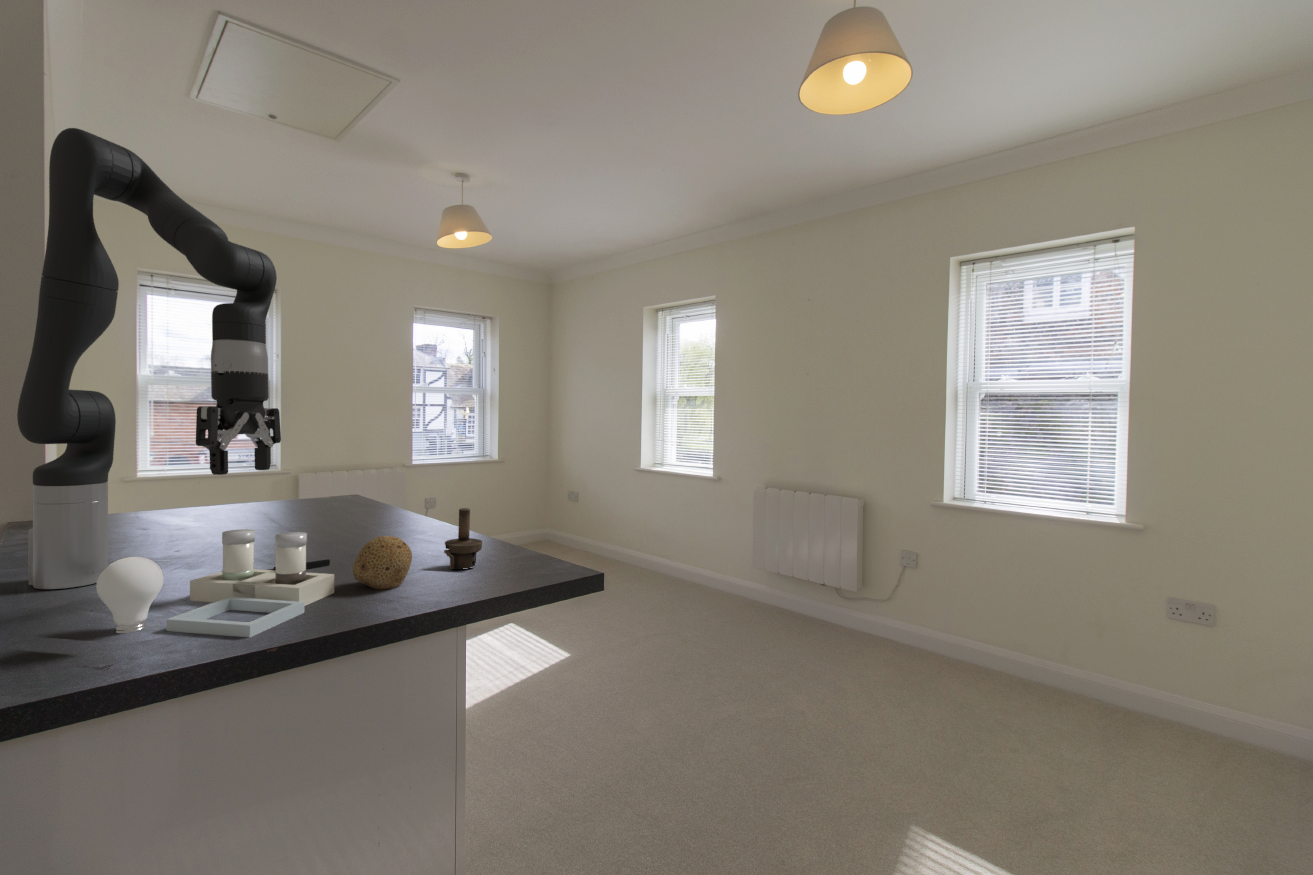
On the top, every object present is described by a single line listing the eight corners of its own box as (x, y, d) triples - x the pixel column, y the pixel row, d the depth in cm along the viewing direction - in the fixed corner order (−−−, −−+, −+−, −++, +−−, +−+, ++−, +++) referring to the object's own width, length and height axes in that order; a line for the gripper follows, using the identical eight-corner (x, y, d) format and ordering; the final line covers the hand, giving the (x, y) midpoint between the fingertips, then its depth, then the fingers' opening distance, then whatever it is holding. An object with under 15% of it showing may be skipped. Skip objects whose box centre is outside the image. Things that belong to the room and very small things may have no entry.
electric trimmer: (333, 576, 112) (333, 560, 112) (236, 592, 101) (237, 573, 100) (325, 573, 115) (325, 556, 115) (229, 588, 103) (230, 569, 103)
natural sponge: (352, 604, 95) (353, 542, 95) (352, 589, 103) (353, 532, 103) (413, 598, 99) (414, 539, 99) (408, 584, 107) (409, 529, 107)
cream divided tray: (189, 609, 90) (189, 580, 90) (233, 594, 98) (233, 567, 98) (298, 617, 88) (299, 588, 88) (334, 601, 96) (334, 574, 96)
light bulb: (124, 630, 81) (124, 551, 81) (175, 630, 82) (176, 551, 81) (81, 649, 75) (81, 563, 74) (137, 649, 75) (138, 563, 75)
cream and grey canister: (268, 601, 91) (268, 536, 91) (288, 593, 95) (288, 531, 95) (293, 603, 90) (294, 537, 90) (312, 594, 95) (313, 532, 94)
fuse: (214, 597, 92) (215, 533, 92) (236, 589, 96) (237, 528, 96) (239, 599, 91) (240, 534, 91) (260, 591, 96) (261, 529, 95)
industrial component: (446, 573, 115) (447, 512, 114) (439, 565, 121) (440, 507, 121) (494, 569, 119) (496, 510, 119) (486, 561, 126) (487, 505, 125)
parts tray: (166, 641, 78) (166, 619, 78) (229, 616, 88) (229, 596, 88) (249, 648, 77) (250, 625, 77) (304, 622, 87) (304, 601, 86)
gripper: (253, 374, 102) (254, 468, 103) (178, 367, 88) (180, 476, 88) (293, 374, 101) (295, 469, 102) (224, 366, 87) (226, 476, 88)
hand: (242, 472), depth 95 cm, fingers open, 8 cm apart
